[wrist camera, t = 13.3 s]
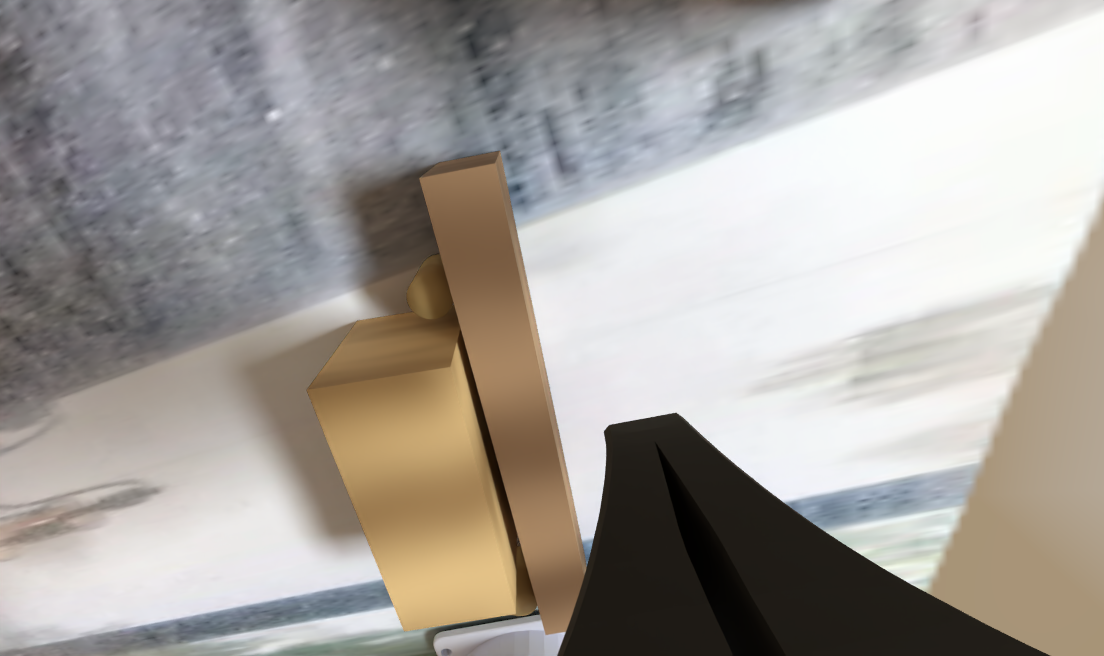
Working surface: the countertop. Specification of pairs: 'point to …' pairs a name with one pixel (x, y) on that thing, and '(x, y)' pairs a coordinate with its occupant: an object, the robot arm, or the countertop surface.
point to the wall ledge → (504, 372)
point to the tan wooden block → (420, 468)
